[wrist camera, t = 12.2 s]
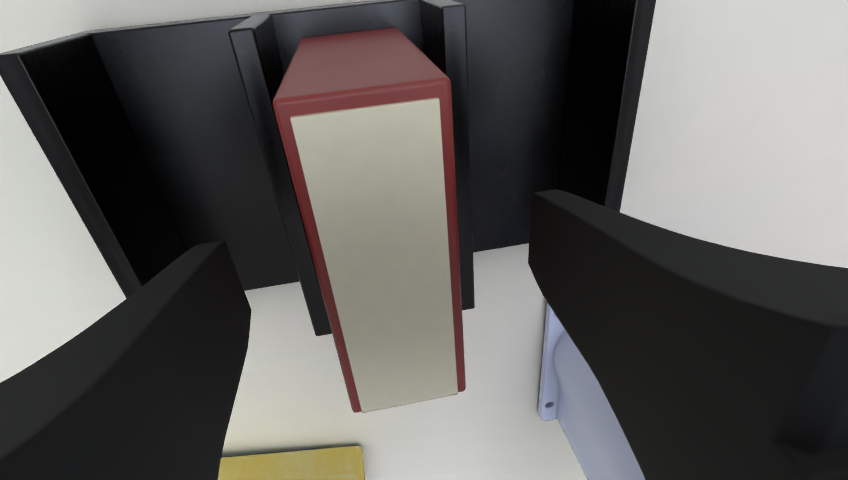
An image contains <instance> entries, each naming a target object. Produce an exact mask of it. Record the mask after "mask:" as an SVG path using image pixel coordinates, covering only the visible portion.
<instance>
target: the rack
mask: <svg viewBox="0 0 848 480" xmlns="http://www.w3.org/2000/svg"><path fill="white" fill-rule="evenodd" d="M655 3H656V0H374V1H364V2H355V3H346V4H336V5H327V6H318V7H308V8H299V9H289V10H280V11H271V12H261V13H252V14H243V15H233V16H224V17H214V18H205V19H196V20H186V21H177V22H168V23H158V24H149V25H139V26H130V27H121V28H111V29H102V30H93V31H84V32H81V33H77V34H73V35H70V36H65V37H61V38H57V39H54V40H50V41H46V42H42V43H38V44H34V45H31V46H27V47H23V48H19V49H15V50H12V51H8V52H4V53H0V75H1V77H2V79H3V81H4V83H5V84H6V86H7V88H8V90H9V91H10V93H11V95H12V97H13V98H14V100H15V102H16V104H17V106H18V107H19V109H20V111H21V113H22V114H23V116H24V118H25V120H26V121H27V123H28V125H29V127H30V129H31V130H32V132H33V134H34V136H35V137H36V139H37V141H38V143H39V144H40V146H41V148H42V150H43V152H44V153H45V155H46V157H47V159H48V160H49V162H50V164H51V166H52V167H53V169H54V171H55V173H56V175H57V176H58V178H59V180H60V182H61V183H62V185H63V187H64V189H65V190H66V192H67V194H68V196H69V198H70V199H71V201H72V203H73V205H74V206H75V208H76V210H77V212H78V213H79V215H80V217H81V219H82V221H83V222H84V224H85V226H86V228H87V229H88V231H89V233H90V235H91V236H92V238H93V240H94V242H95V244H96V245H97V247H98V249H99V251H100V252H101V254H102V256H103V258H104V259H105V261H106V263H107V265H108V267H109V268H110V270H111V272H112V274H113V275H114V277H115V279H116V281H117V282H118V284H119V286H120V288H121V290H122V291H123V293H124V295H125V297H126V298H128V297H130V296H131V295H132V294H134V293H135V292H136V291H137V290H139V289H140V288H141V287H142V286H144V285H145V284H146V283H147V282H149V281H150V280H151V279H152V278H154V277H155V276H156V275H157V274H158V273H160V272H161V271H162V270H163V269H165V268H166V267H167V266H168V265H170V264H171V263H172V262H173V261H175V260H176V259H177V258H179V257H180V256H181V255H182V254H184V253H185V252H187V251H188V250H189V249H191V248H192V247H194V246H196V245H198V244H204V243H211V242H217V241H224V240H225V242H226V245H227V247H228V250H229V252H230V255H231V258H232V260H233V263H234V266H235V268H236V271H237V274H238V276H239V279H240V282H241V284H242V287H243V289H244V291H245V290H251V289H257V288H263V287H269V286H275V285H281V284H287V283H293V282H299V281H300V283H301V287H302V290H303V294H304V297H305V301H306V304H307V307H308V311H309V314H310V318H311V321H312V325H313V328H314V332H315V335H316V336H321V335H327V334H331V333H332V330H331V326H330V323H329V319H328V315H327V311H326V307H325V304H324V300H323V296H322V292H321V288H320V284H319V281H318V277H317V273H316V269H315V265H314V261H313V258H312V254H311V250H310V246H309V242H308V238H307V235H306V231H305V227H304V223H303V219H302V216H301V212H300V208H299V204H298V200H297V196H296V193H295V189H294V185H293V181H292V177H291V173H290V170H289V166H288V162H287V158H286V154H285V150H284V147H283V143H282V139H281V135H280V131H279V127H278V124H277V120H276V116H275V112H274V108H273V100H274V97H275V95H276V93H277V91H278V89H279V86H280V84H281V82H282V80H283V78H284V75H285V73H286V71H287V69H288V67H289V64H290V62H291V60H292V58H293V55H294V53H295V51H296V49H297V47H298V44H299V42H300V40H301V39H302V38H306V37H315V36H324V35H333V34H341V33H350V32H359V31H368V30H377V29H386V28H398V29H399V30H400V31H401V32H402V33H403V34H404V35H405V36H406V37H407V38H408V39H409V40H410V41H411V42H412V43H413V44H414V45H415V46H416V47H417V48H418V49H419V50H420V51H422V52H423V53H424V54H425V55H426V56H427V57H428V58H429V59H430V60H431V61H432V62H433V63H434V64H435V65H436V66H437V67H438V68H439V69H440V70H441V71H442V72H443V73H444V74H445V75H446V76H447V77H448V78H449V79H450V81H451V96H452V117H453V137H454V158H455V178H456V199H457V220H458V240H459V261H460V282H461V302H462V310H467V309H472V308H474V307H475V306H474V271H473V252H478V251H484V250H490V249H496V248H502V247H508V246H514V245H520V244H526V243H529V237H530V217H531V196H532V193H535V192H541V191H548V190H554V189H557V190H561V191H565V192H568V193H571V194H574V195H576V196H579V197H582V198H584V199H587V200H589V201H592V202H594V203H597V204H599V205H602V206H604V207H607V208H609V209H612V210H614V211H617V212H620V207H621V201H622V195H623V189H624V183H625V178H626V172H627V166H628V160H629V154H630V148H631V143H632V137H633V131H634V125H635V119H636V114H637V108H638V102H639V96H640V90H641V84H642V79H643V73H644V67H645V61H646V55H647V49H648V44H649V38H650V32H651V26H652V20H653V15H654V9H655Z"/></svg>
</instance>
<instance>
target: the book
mask: <svg viewBox="0 0 848 480" xmlns="http://www.w3.org/2000/svg"><path fill="white" fill-rule="evenodd" d="M273 108H274V112H275V116H276V120H277V124H278V127H279V131H280V135H281V139H282V143H283V147H284V150H285V154H286V158H287V162H288V166H289V170H290V173H291V177H292V181H293V185H294V189H295V193H296V196H297V200H298V204H299V208H300V212H301V216H302V219H303V223H304V227H305V231H306V235H307V238H308V242H309V246H310V250H311V254H312V258H313V261H314V265H315V269H316V273H317V277H318V281H319V284H320V288H321V292H322V296H323V300H324V304H325V307H326V311H327V315H328V319H329V323H330V326H331V330H332V334H333V338H334V342H335V346H336V349H337V353H338V357H339V361H340V365H341V369H342V372H343V376H344V380H345V384H346V388H347V392H348V395H349V399H350V403H351V407H352V410H353V411H354V412H362V413H366V412H371V411H376V410H381V409H386V408H391V407H396V406H401V405H406V404H411V403H416V402H421V401H426V400H431V399H436V398H441V397H446V396H451V395H456V394H458V392H462V391H464V390H465V387H466V385H465V364H464V343H463V323H462V302H461V282H460V261H459V240H458V220H457V199H456V178H455V158H454V137H453V117H452V96H451V81H450V79H449V78H448V77H447V76H446V75H445V74H444V73H443V72H442V71H441V70H440V69H439V68H438V67H437V66H436V65H435V64H434V63H433V62H432V61H431V60H430V59H429V58H428V57H427V56H426V55H425V54H424V53H423V52H422V51H420V50H419V49H418V48H417V47H416V46H415V45H414V44H413V43H412V42H411V41H410V40H409V39H408V38H407V37H406V36H405V35H404V34H403V33H402V32H401V31H400V30H399V29H398V28H386V29H377V30H368V31H359V32H350V33H341V34H333V35H324V36H315V37H306V38H302V39H301V40H300V42H299V44H298V47H297V49H296V51H295V53H294V55H293V58H292V60H291V62H290V64H289V67H288V69H287V71H286V73H285V75H284V78H283V80H282V82H281V84H280V86H279V89H278V91H277V93H276V95H275V97H274V100H273Z"/></svg>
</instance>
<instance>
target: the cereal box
mask: <svg viewBox="0 0 848 480" xmlns="http://www.w3.org/2000/svg"><path fill="white" fill-rule="evenodd" d="M218 480H365V474H364V464H363V453H362V447H361V446H348V447H335V448H324V449H313V450H302V451H290V452H280V453H269V454H258V455H247V456H236V457H224V458H221V460H220V468H219V475H218Z"/></svg>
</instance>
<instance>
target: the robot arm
mask: <svg viewBox="0 0 848 480" xmlns="http://www.w3.org/2000/svg"><path fill="white" fill-rule="evenodd" d="M528 263H529V266H530V268H531V270H532V273H533V275H534V277H535V279H536V282H537V284H538V286H539V288H540V290H541V292H542V294H543V296H544V298H545V299H546V301H547V310H546V322H545V334H544V346H543V358H542V370H541V382H540V394H539V406H538V415H539V417H540V419H541V420H544V421H549V420H553V419H558V421H559V423H560V425H561V427H562V429H563V431H564V433H565V435H566V437H567V440H568V442H569V444H570V446H571V448H572V450H573V452H574V454H575V456H576V458H577V460H578V462H579V464H580V466H581V468H582V470H583V472H584V474H585V476H586V478H587V480H848V268H841V267H834V266H826V265H819V264H813V263H807V262H800V261H794V260H788V259H783V258H778V257H773V256H768V255H763V254H757V253H752V252H748V251H743V250H739V249H734V248H730V247H726V246H722V245H718V244H715V243H711V242H707V241H703V240H699V239H696V238H692V237H689V236H685V235H682V234H679V233H676V232H673V231H670V230H667V229H664V228H661V227H658V226H655V225H652V224H649V223H646V222H643V221H641V220H638V219H635V218H633V217H630V216H627V215H625V214H622V213H620V212H617V211H614V210H612V209H609V208H607V207H604V206H602V205H599V204H597V203H594V202H592V201H589V200H587V199H584V198H582V197H579V196H576V195H574V194H571V193H568V192H565V191H561V190H557V189H554V190H548V191H541V192H535V193H532V196H531V217H530V237H529V257H528ZM250 319H251V308H250V305H249V303H248V300H247V297H246V295H245V292H244V289H243V287H242V284H241V282H240V279H239V276H238V274H237V271H236V268H235V266H234V263H233V260H232V258H231V255H230V252H229V250H228V247H227V245H226V242H225V240H224V241H217V242H211V243H204V244H198V245H196V246H194V247H192V248H191V249H189V250H188V251H187V252H185V253H184V254H182V255H181V256H180V257H179V258H177V259H176V260H175V261H173V262H172V263H171V264H170V265H168V266H167V267H166V268H165V269H163V270H162V271H161V272H160V273H158V274H157V275H156V276H155V277H154V278H152V279H151V280H150V281H149V282H147V283H146V284H145V285H144V286H142V287H141V288H140V289H139V290H137V291H136V292H135V293H134V294H132V295H131V296H130V297H128V298H127V299H126V300H125V301H123V302H122V303H120V304H119V305H118V306H116V307H115V308H114V309H112V310H111V311H110V312H108V313H107V314H106V315H104V316H103V317H102V318H100V319H99V320H98V321H96V322H95V323H94V324H92V325H91V326H90V327H88V328H87V329H86V330H84V331H83V332H81V333H80V334H78V335H77V336H75V337H74V338H72V339H71V340H70V341H68V342H67V343H65V344H64V345H62V346H61V347H59V348H57V349H56V350H54V351H53V352H51V353H50V354H48V355H46V356H45V357H43V358H42V359H40V360H38V361H37V362H35V363H34V364H32V365H31V366H29V367H27V368H26V369H24V370H22V371H21V372H19V373H17V374H16V375H14V376H12V377H10V378H8V379H7V380H5V381H3V382H1V383H0V480H218V475H219V468H220V460H221V455H222V450H223V445H224V440H225V436H226V432H227V428H228V424H229V420H230V416H231V412H232V408H233V404H234V401H235V397H236V393H237V389H238V385H239V381H240V377H241V373H242V369H243V365H244V361H245V357H246V352H247V348H248V340H249V331H250Z"/></svg>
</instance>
